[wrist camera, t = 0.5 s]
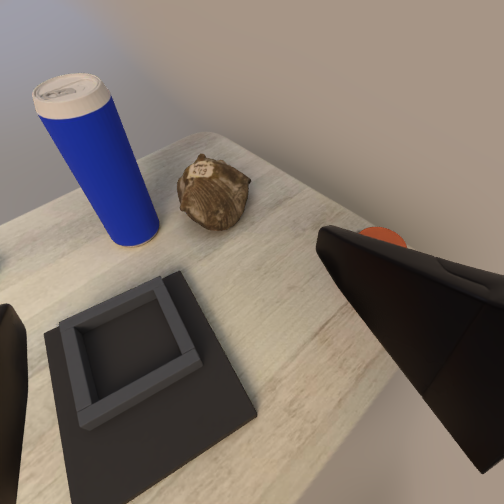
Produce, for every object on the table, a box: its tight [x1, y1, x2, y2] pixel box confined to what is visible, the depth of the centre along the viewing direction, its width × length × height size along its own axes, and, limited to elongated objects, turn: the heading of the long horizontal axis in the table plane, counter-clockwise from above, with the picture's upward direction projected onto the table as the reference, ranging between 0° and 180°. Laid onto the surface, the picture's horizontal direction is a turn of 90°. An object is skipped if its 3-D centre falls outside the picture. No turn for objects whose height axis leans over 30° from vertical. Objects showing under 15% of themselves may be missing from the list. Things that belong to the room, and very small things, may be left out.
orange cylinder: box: [359, 227, 407, 248], centre depth 27 cm, size 4×4×5 cm
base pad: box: [44, 271, 257, 504], centre depth 23 cm, size 14×12×2 cm
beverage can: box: [32, 73, 159, 247], centre depth 27 cm, size 5×5×15 cm
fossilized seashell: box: [177, 154, 251, 231], centre depth 33 cm, size 8×7×10 cm
